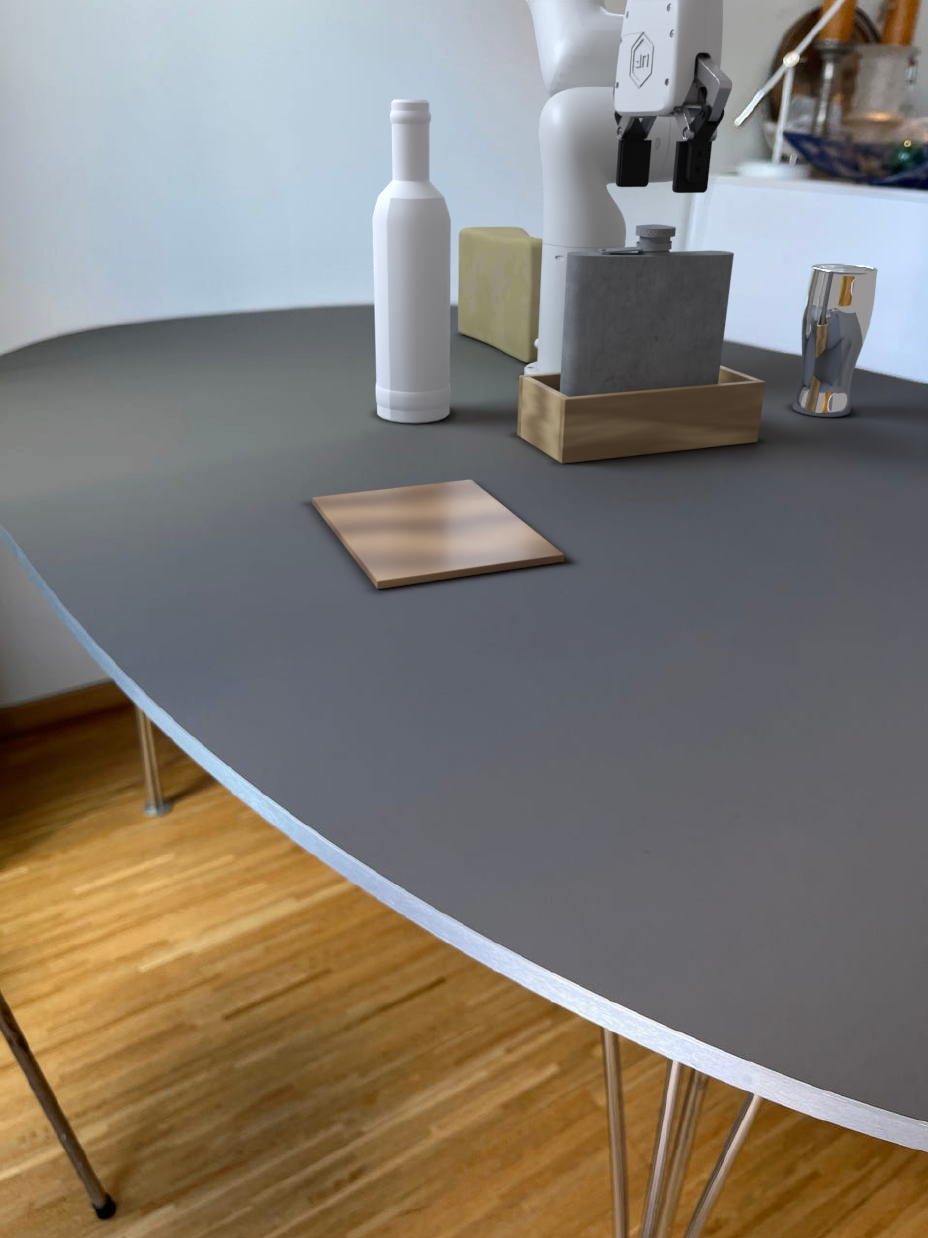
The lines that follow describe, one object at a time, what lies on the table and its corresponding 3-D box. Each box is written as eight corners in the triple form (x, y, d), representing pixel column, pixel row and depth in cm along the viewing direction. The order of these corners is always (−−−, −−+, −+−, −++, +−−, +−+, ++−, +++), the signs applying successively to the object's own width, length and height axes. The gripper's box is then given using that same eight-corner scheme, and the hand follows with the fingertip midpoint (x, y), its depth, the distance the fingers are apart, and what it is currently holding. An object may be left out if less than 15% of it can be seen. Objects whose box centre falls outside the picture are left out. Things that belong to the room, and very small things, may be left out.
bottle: (462, 410, 112) (466, 100, 99) (430, 427, 105) (429, 98, 92) (397, 401, 115) (392, 99, 102) (362, 418, 108) (351, 98, 95)
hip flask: (704, 430, 106) (729, 222, 97) (720, 441, 102) (746, 226, 93) (553, 435, 103) (564, 222, 95) (564, 447, 100) (576, 226, 91)
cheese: (569, 362, 134) (576, 240, 127) (497, 365, 132) (500, 241, 125) (520, 331, 153) (523, 223, 146) (456, 333, 151) (457, 224, 144)
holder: (516, 435, 103) (518, 375, 101) (700, 416, 111) (707, 360, 108) (561, 464, 95) (565, 399, 92) (757, 441, 102) (766, 381, 100)
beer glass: (858, 420, 110) (885, 273, 103) (790, 416, 111) (812, 270, 105) (849, 404, 116) (874, 264, 109) (785, 400, 117) (806, 262, 111)
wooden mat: (312, 504, 84) (311, 497, 84) (470, 485, 89) (470, 478, 89) (377, 589, 69) (377, 581, 69) (564, 562, 74) (564, 554, 74)
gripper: (588, -26, 91) (577, 185, 98) (697, -54, 77) (675, 195, 84) (662, -20, 94) (646, 184, 101) (781, -47, 79) (752, 194, 86)
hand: (659, 189), depth 92 cm, fingers open, 9 cm apart
